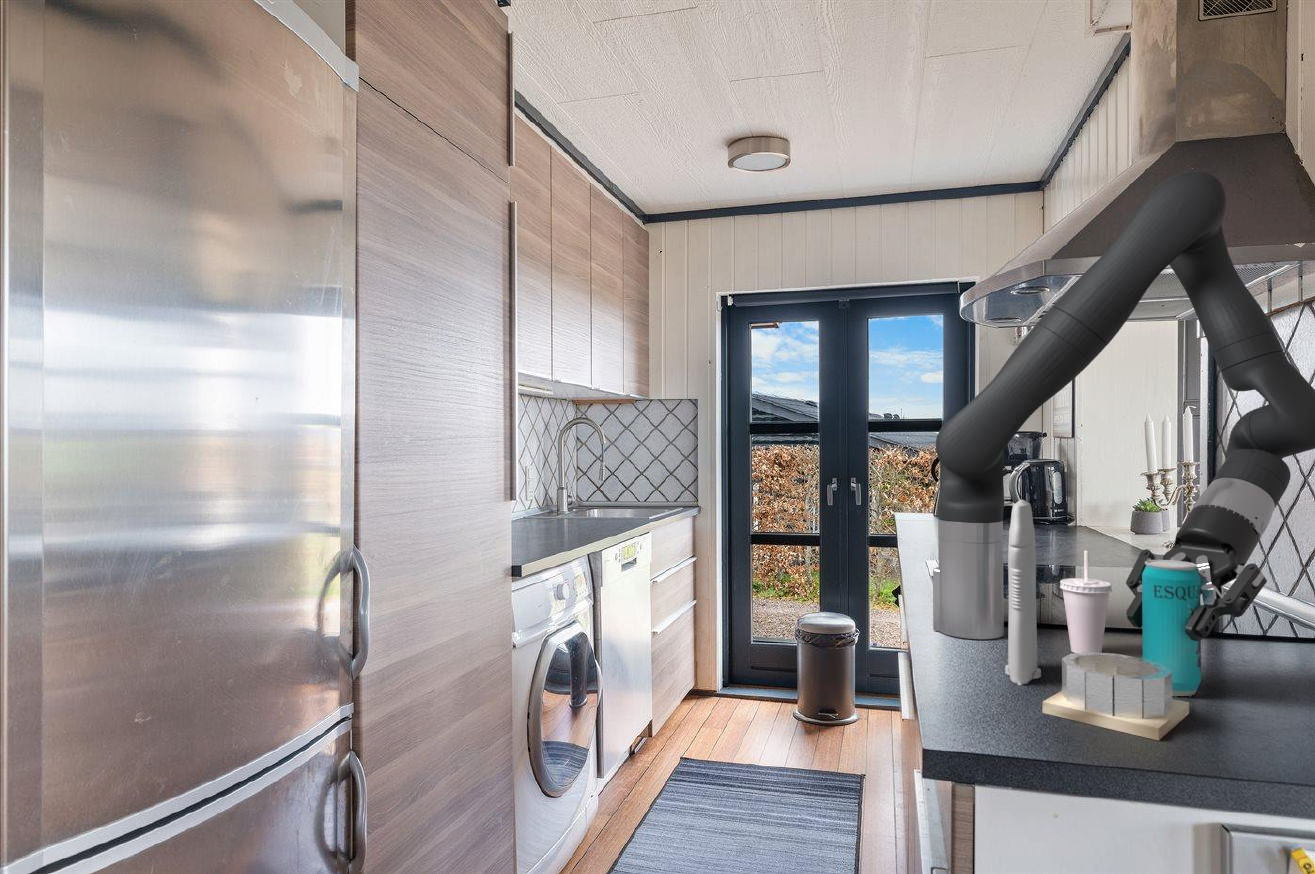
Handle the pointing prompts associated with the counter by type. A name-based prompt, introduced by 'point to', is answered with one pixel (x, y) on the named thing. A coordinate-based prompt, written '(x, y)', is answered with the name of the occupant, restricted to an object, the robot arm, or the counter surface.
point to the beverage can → (1172, 621)
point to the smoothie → (1086, 610)
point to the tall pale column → (1022, 597)
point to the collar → (1117, 685)
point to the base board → (1118, 718)
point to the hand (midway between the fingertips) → (1161, 629)
